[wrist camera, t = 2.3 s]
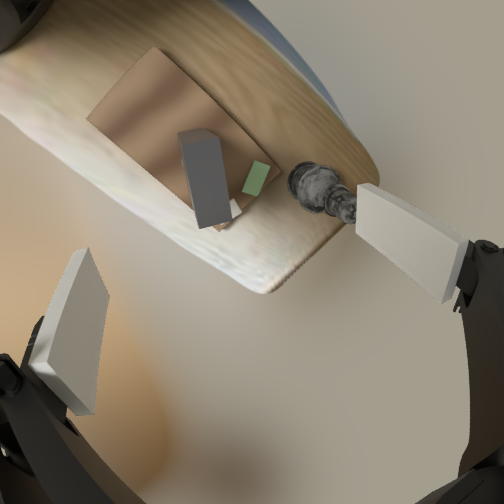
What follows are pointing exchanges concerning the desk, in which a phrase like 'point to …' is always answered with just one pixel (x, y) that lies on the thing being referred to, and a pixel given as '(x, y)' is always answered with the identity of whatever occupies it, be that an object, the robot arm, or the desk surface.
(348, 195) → the dark grey chess piece
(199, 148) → the grey block
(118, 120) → the board
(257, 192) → the dial marks
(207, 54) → the desk surface
